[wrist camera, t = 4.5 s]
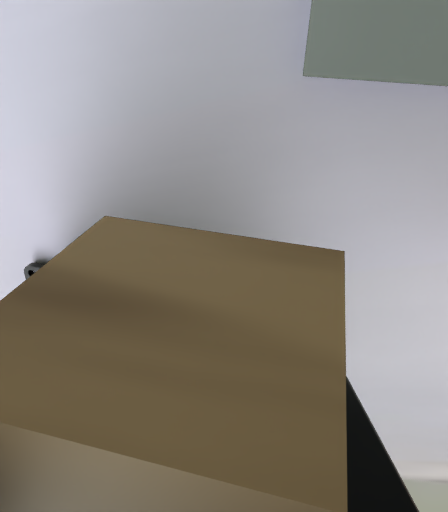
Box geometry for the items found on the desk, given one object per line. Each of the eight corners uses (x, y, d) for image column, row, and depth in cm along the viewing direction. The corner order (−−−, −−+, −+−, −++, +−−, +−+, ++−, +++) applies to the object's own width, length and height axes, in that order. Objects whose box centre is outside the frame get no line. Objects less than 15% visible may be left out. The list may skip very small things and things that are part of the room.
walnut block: (307, 424, 10) (283, 700, 6) (123, 382, 11) (-7, 595, 7) (344, 251, 8) (348, 514, 4) (104, 215, 9) (-113, 392, 5)
